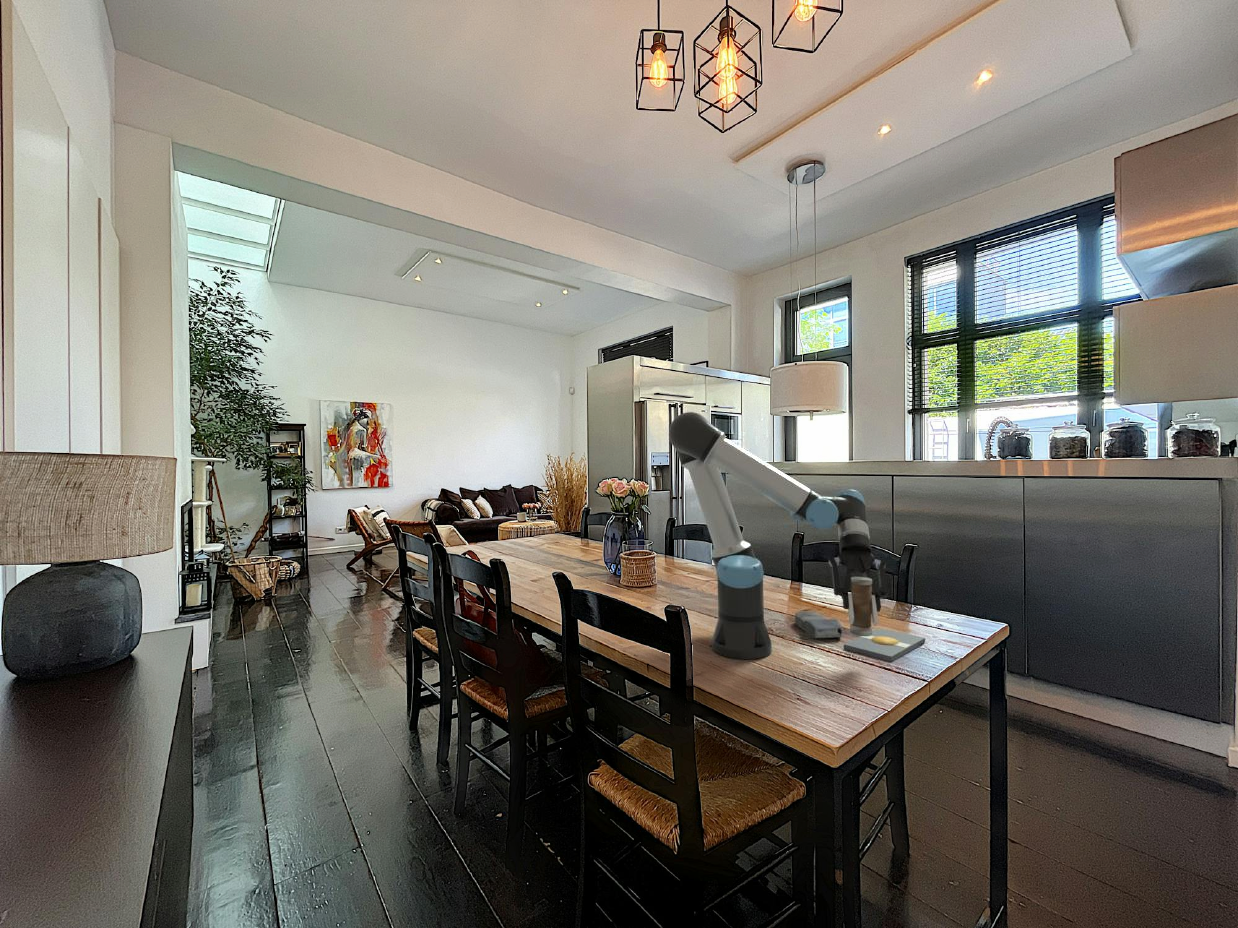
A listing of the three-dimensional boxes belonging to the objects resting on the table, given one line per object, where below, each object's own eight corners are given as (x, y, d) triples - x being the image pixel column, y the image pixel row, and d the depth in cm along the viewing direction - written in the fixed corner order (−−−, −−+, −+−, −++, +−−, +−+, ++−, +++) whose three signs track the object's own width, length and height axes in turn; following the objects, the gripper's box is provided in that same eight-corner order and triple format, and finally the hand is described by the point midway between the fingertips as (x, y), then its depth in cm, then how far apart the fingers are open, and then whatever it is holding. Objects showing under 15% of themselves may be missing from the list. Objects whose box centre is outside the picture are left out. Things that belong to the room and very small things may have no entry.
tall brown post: (851, 635, 126) (852, 580, 126) (848, 629, 131) (849, 575, 131) (873, 637, 125) (874, 581, 125) (870, 630, 129) (870, 577, 129)
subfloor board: (891, 661, 129) (891, 655, 129) (843, 648, 138) (843, 643, 138) (925, 642, 142) (925, 637, 142) (879, 632, 151) (879, 627, 151)
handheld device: (815, 619, 165) (815, 604, 165) (847, 641, 145) (846, 624, 145) (785, 620, 164) (784, 605, 164) (812, 642, 144) (812, 625, 144)
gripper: (888, 550, 140) (902, 633, 124) (818, 547, 145) (822, 626, 129) (893, 533, 135) (908, 616, 119) (819, 530, 140) (824, 610, 124)
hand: (863, 621), depth 124 cm, fingers closed on tall brown post, 4 cm apart
